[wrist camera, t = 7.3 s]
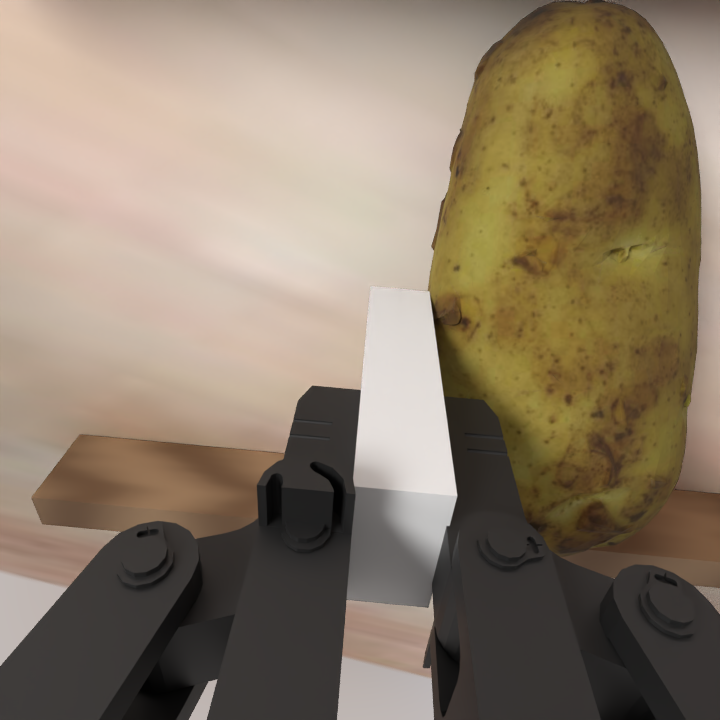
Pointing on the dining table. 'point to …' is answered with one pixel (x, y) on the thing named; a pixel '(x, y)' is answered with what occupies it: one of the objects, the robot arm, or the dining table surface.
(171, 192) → the dining table surface
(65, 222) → the dining table surface
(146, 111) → the dining table surface
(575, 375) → the potato
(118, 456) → the channel
